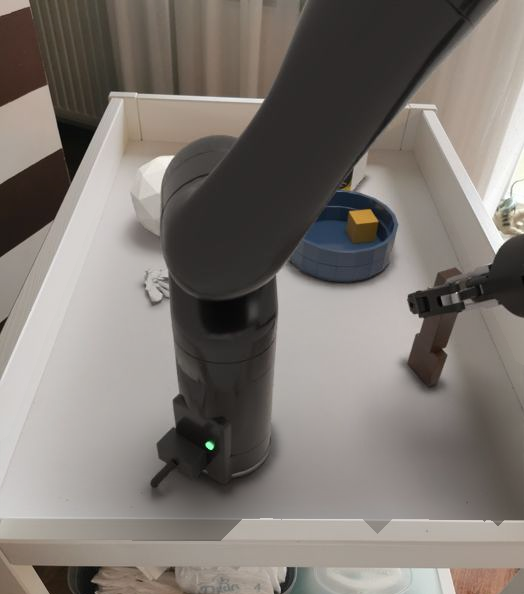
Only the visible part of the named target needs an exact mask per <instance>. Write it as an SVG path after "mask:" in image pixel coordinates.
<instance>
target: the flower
mask: <svg viewBox="0 0 524 594" xmlns="http://www.w3.org/2000/svg"><path fill="white" fill-rule="evenodd" d="M149 269H151V268H150V267H149V268H148V269H147V270H144V272H145V275H144V277H143V279H144V280H143V283H144V284H145V288H144V291H147V293H148V295H149V298H150V301H151V302H159V301H161V300H162V299H163V296H164V297H166V298H170V297H169V279H165V278H168V268H167V267H166V268H163V269H160V268H157V270H156V271H154V272H152V271H151V272H150V270H149Z"/></svg>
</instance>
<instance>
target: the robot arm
mask: <svg viewBox="0 0 524 594" xmlns="http://www.w3.org/2000/svg"><path fill="white" fill-rule="evenodd" d="M499 1H500V0H305V3H304V4H303V7H302V10H301V12H300V15H299V18H298V20H297V23H296V25H295V27H294V30H293V33H292V36H291V38H290V40H289V42H288V45H287V49H286V50H285V53H284V56H283V58H282V61H281V63H280V65H279V68H278V71H277V73H276V75H275V78H274V79H273V81H272V84H271V86H270V88H269V90H268V92H267V94H266V95H265V98H264V99H263V101H262V103H261V104H260V106H259V108H258V109H257V111H256V113H254V116H253V117H252V119H250V121H249V122H248V124H247V125H246V127H245V129H244V130H243V131H242V132H241V133H240V135H239V136H238V137H237V136H233V135H228V134H212V135H211V134H210V135H206V136H203V137H200V138H198V139H195V140H193V141H191V142H189V143H188V144H186V145H185V146H184V147H182V148H181V149H180V150H179V151H178V152H177V153H176V154H175V155H173V156H174V158H173V159H172V160H171V162H170V163H169V165H168V167H167V169H166V171H165V173H164V176H163V179H162V184H161V193H160V198H161V203H160V236H159V241H160V242H159V243H160V248H161V252H162V256H163V260H164V263H165V265H166V269H167V268H168V277H167V278H168V279H169V280H168V282H169V291H168V292H169V297H168V298H169V312H170V321H171V329H172V330H171V331H172V338H173V347H174V355H175V356H174V358H175V366H176V367H175V368H176V376H177V385H178V386H177V387H178V394H177V395H176V396H175V397H173V399H172V409H173V418H174V425H175V427H174V426H172V427H171V428H170V430H168V431H167V432H166V433H165V434H164V435H163V436H162V437H161V438H160V439H159V440H158V441H157V442H156V443H155V444H156V450H157V451H156V452H157V456H158V459H159V460H160V461H161V462H163V463H165V464H166V465H164V466H163V467H162V468H161V469H160V470H159V471H158V472H157V473H156V474H155V475H154V476H153V478H151V480H150V482H149V485H150V487H151V488H152V489H156V488H158V487H159V485H160V484H161V482H163V480H164V479H166V478H167V476H169V475H170V474H171V473H172V472H173V471H174V470H175V471H177V472H179V473H180V474H182V475H183V476H185V477H186V478H188V479H190V480H191V481H193V482H194V481H195V480H196V479H197V478H198V477H199V476H200V474H201V473H202V474H205V475H207V476H208V477H210V478H211V479H213V480H214V481H216V482H217V483H219V484H221V485H222V486H225V485H227V484H228V483H229V481H231V480H232V479H235V478H241V477H243V476H246V475H248V474H250V473H253V472H255V471H256V470H257V469H258V468H259V467H261V465H263V463H264V462H265V461H266V460H267V458H268V456H269V453H270V450H271V446H272V445H271V444H272V435H271V434H272V433H271V431H272V415H273V414H272V413H273V397H274V384H275V383H274V382H275V381H274V380H275V364H276V350H277V337H278V335H277V334H278V325H279V323H278V322H279V299H278V298H279V297H278V296H279V295H278V284H277V283H278V282H277V274H278V273H279V272H280V271H281V270H282V268H283V267H284V266H286V264H287V262H288V261H290V260H289V258H290V257H291V255H292V254H293V253H294V251H295V250H296V248H297V247H298V246H299V244H300V243H301V241H302V240H303V238H304V237H305V235H306V234H307V233H308V231H309V230H310V228H311V227H312V225H313V224H314V223H315V221H316V220H317V218H318V217H319V215H320V214H321V212H322V211H323V210H324V208H325V207H326V205H327V204H328V202H329V201H330V200H331V198H332V197H333V195H334V194H335V192H336V191H337V190H338V188H339V187H340V186H341V184H342V183H343V181H344V180H345V179H346V177H347V176H348V175H349V173H350V172H351V171H352V169H353V168H354V167H355V166H356V164H357V163H358V162H359V161H360V159H361V158H362V157H363V156H364V155H365V154H366V152H367V151H368V150H370V149H371V148H372V147H373V146H374V145H375V143H376V142H377V141H378V140H379V139H380V138H381V136H383V134H384V133H385V132H386V131H387V130H388V129H389V127H390V126H391V125H392V124H393V123H394V122H395V120H397V118H398V117H399V115H401V114H402V112H403V111H404V110H405V109H406V107H407V106H408V105H409V104H410V103H411V101H412V100H413V99H414V98H415V97H416V95H417V94H418V93H419V91H420V90H421V89H422V88H423V87H424V85H425V84H427V82H428V81H429V80H430V79H431V77H432V76H433V75H434V74H435V73H436V71H437V70H438V69H439V68H440V67H441V66H442V65H443V64H444V62H445V61H446V60H447V59H448V58H449V57H450V56H451V55H452V53H453V52H454V51H455V50H457V48H458V47H459V46H460V45H461V44H462V43H463V42H464V41H465V40H466V39H467V38H468V36H469V35H470V34H471V33H472V32H473V31H474V30H475V29H476V28H477V26H478V25H479V24H480V23H481V22H482V21H483V19H485V17H486V16H487V15H488V14H489V12H490V11H491V10H492V9H493V8H494V7H495V5H496V4H497V3H499ZM368 152H369V151H368ZM464 279H468V280H467V281H466V284H465V286H466V289H463V290H461V289H460V286H459V283H458V282H459V281H460V280H464ZM467 300H470V301H472V302H469V303H466V302H465V301H467ZM406 301H407V304H408V308H409V312H411V313H412V314H413V315H418V319H423V320H424V318H427V317H429V316H435V315H441V314H447V313H453V312H456V313H458V314H460V313H463V312H466V311H471V310H475V309H478V308H485V309H490V308H494V307H499V306H502V307H503V308H504V309H505V310H507V311H508V312H509V313H511V314H512V315H514V316H516V317H518V318H522V319H524V233H520V234H516V235H514V236H512V237H510V238H508V239H507V240H505V242H504V243H502V244H501V245H500V247H499V248H498V250H497V252H496V253H495V255H494V259H493V261H492V262H491V263H486V264H482V265H480V266H478V267H476V268H475V269H474V270H472V271H468V272H465V273H463V274H461V275H457V276H453V277H451V278H448V279H447V280H446V282H445V284H444V285H440V286H436V287H434V286H432V285H431V286H428V287H426V289H423V290H422V289H420V290H419V289H418V290H416V291H415V292H411V293H409V294H407V299H406Z"/></svg>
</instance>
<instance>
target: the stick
mask: <svg viewBox="0 0 524 594" xmlns="http://www.w3.org/2000/svg"><path fill="white" fill-rule="evenodd" d="M461 274H464V273H463V272H462V271H460V269H458V268H457V267H456V266H455V267H452V268H448V269H445V270H442V271H438V272H437V273H436V277H435V280H434V283H433V287H436V286H440V285H444V284H445V282H446V280H447V279H448V278H451V277H453V276H457V275H461ZM468 279H469V278H468ZM468 279H464V280H460V281H459V282H458V283H459V286H460V289H461V290H463V289H466V286H465V284H466V281H467V280H468ZM458 315H459V313H456V312H453V313H447V314H441V315H435V316H429V317H427V318H424V319H423V320H422V323H421V327H420V329H419V332H416V334H415V335H414V337H413V338H414V339H413V342H412V346H411V348H410V352H409V356H408V359H407V362H406V363H407V364H408V365H409V367H410V368H411V369H412V370H413V371H414V372H415V373H416V375H417V376H418V377H419V378H420V379H421V380H422V382H423V383H424V384H425V385H426V386H427V387H432V386H435V385H438V383H439V380H440V378H441V375H442V372H443V369H444V367H445V364H446V361H447V358H448V353H446V351H445V350H444V349H446V348H447V346H448V343H449V340H450V337H451V335H452V332H453V329H454V326H455V323H456V321H457V317H458Z"/></svg>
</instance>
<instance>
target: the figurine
mask: <svg viewBox="0 0 524 594" xmlns="http://www.w3.org/2000/svg"><path fill="white" fill-rule="evenodd" d="M174 156H175V155H160V156H158V157H155V158H153V159H152V160H150V161H149V162H147V163H145V164H143V165H142V166H139V168H138V169H137V171H136V175H135V177H134V180H133V183H132V186H131V188H130V189H129V194H130V197H131V202H132V206H133V210H134V213H135V216H136V219H137V220H138V221H139V222H140V224H141V225H142V226H143V227H144V228H145V229H146V230H148V231H149V232H150V233H152V234H154V235H156V236H159V237H160V203H161V198H160V193H161V184H162V179H163V176H164V173H165V171H166V169H167V167H168V165H169V163H170V162H171V160H172V159H173V158H174Z"/></svg>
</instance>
